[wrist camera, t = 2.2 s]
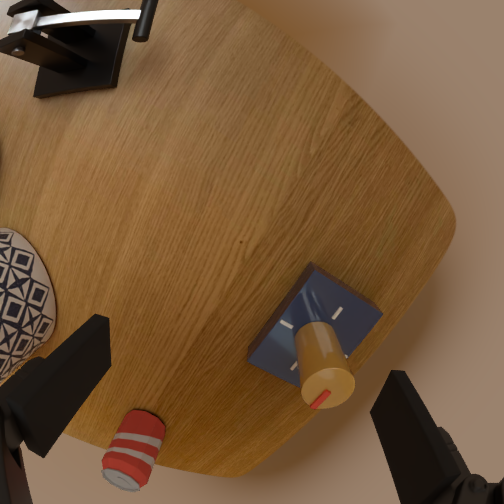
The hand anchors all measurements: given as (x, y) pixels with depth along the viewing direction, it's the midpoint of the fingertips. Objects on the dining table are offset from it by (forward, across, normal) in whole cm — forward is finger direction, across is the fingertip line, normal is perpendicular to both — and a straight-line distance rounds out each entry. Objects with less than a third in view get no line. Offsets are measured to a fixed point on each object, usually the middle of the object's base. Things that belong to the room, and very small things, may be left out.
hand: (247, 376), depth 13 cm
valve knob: (+16, +7, -6) cm, 19 cm away
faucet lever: (+11, -20, +21) cm, 31 cm away
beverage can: (+19, -11, -28) cm, 36 cm away
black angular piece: (+19, -25, +20) cm, 37 cm away
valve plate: (+19, +7, -6) cm, 21 cm away
